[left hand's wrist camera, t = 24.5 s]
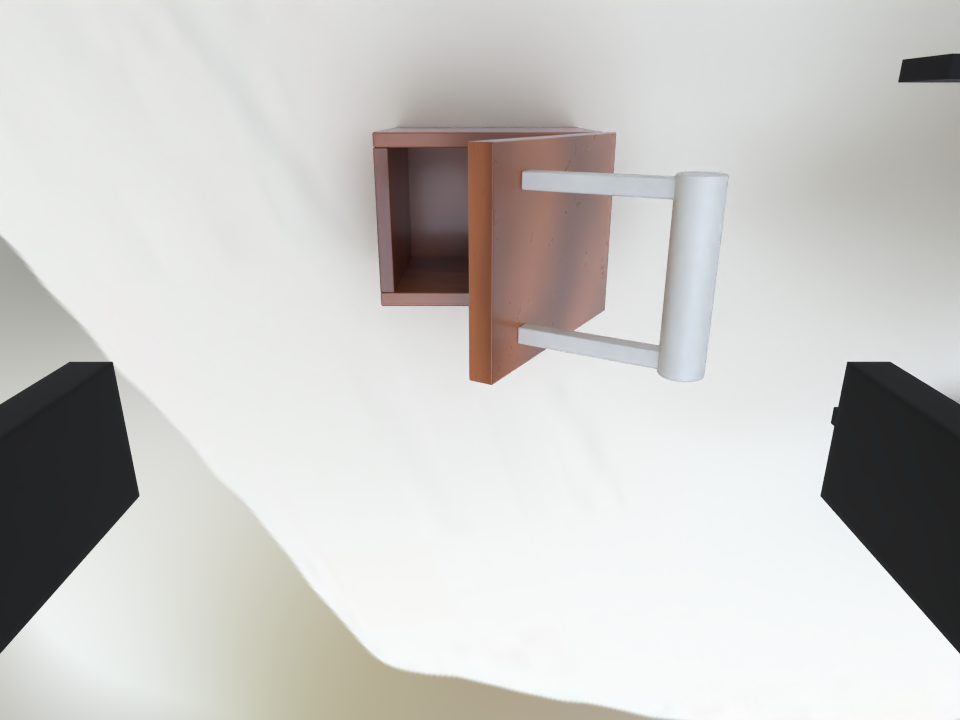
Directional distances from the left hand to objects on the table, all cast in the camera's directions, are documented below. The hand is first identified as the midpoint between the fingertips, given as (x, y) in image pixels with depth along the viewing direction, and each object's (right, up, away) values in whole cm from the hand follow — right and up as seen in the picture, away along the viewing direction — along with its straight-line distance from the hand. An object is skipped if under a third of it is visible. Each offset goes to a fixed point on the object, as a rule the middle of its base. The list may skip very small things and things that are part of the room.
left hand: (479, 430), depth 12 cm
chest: (0, +12, +33) cm, 35 cm away
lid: (+3, +7, +18) cm, 19 cm away
